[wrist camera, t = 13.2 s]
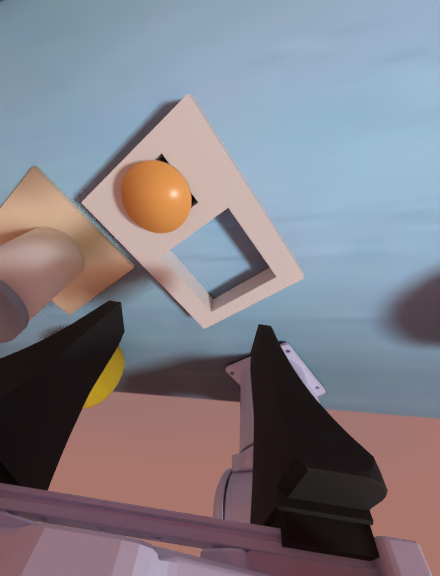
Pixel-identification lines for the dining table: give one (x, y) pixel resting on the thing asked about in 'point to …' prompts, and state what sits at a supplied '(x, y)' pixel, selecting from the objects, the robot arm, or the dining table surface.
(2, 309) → the cylinder
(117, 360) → the lemon
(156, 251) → the beige flat frame
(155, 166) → the orange dome button
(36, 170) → the birch board
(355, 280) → the dining table surface
